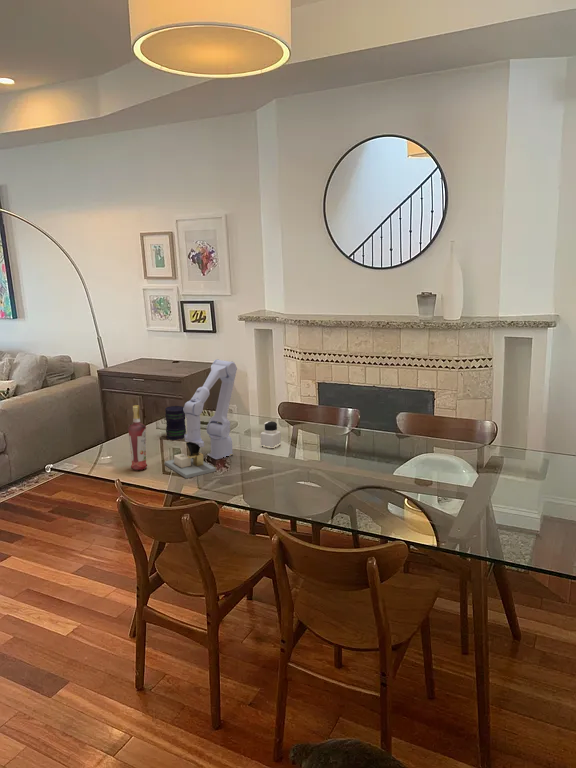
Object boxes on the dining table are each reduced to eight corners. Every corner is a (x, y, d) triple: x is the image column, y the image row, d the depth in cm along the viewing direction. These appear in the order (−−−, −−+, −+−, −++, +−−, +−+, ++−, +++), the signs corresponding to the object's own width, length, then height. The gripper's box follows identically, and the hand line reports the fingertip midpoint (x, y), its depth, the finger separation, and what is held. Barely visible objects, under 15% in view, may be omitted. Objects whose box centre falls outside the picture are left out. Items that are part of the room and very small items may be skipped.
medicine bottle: (280, 445, 286) (280, 421, 283) (272, 449, 280) (272, 425, 277) (268, 443, 289) (268, 419, 287) (260, 447, 284) (260, 423, 281)
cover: (183, 461, 260) (182, 452, 259) (190, 465, 254) (190, 456, 253) (174, 463, 257) (173, 454, 256) (181, 467, 252) (181, 458, 251)
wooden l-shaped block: (199, 462, 258) (199, 452, 257) (203, 464, 255) (203, 454, 254) (187, 465, 254) (187, 454, 253) (191, 467, 252) (190, 457, 251)
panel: (193, 458, 268) (193, 455, 267) (215, 471, 252) (215, 467, 252) (164, 464, 260) (164, 461, 259) (186, 478, 244) (186, 475, 244)
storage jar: (184, 440, 293) (183, 411, 290) (164, 439, 293) (163, 410, 290) (187, 434, 303) (186, 405, 300) (168, 433, 303) (167, 405, 300)
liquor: (143, 472, 250) (140, 408, 244) (127, 471, 252) (123, 407, 246) (150, 466, 257) (147, 404, 251) (135, 465, 259) (131, 403, 253)
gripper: (177, 426, 258) (178, 455, 261) (193, 434, 247) (194, 465, 250) (192, 423, 262) (193, 452, 265) (208, 431, 251) (209, 461, 254)
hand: (194, 458), depth 258 cm, fingers closed
